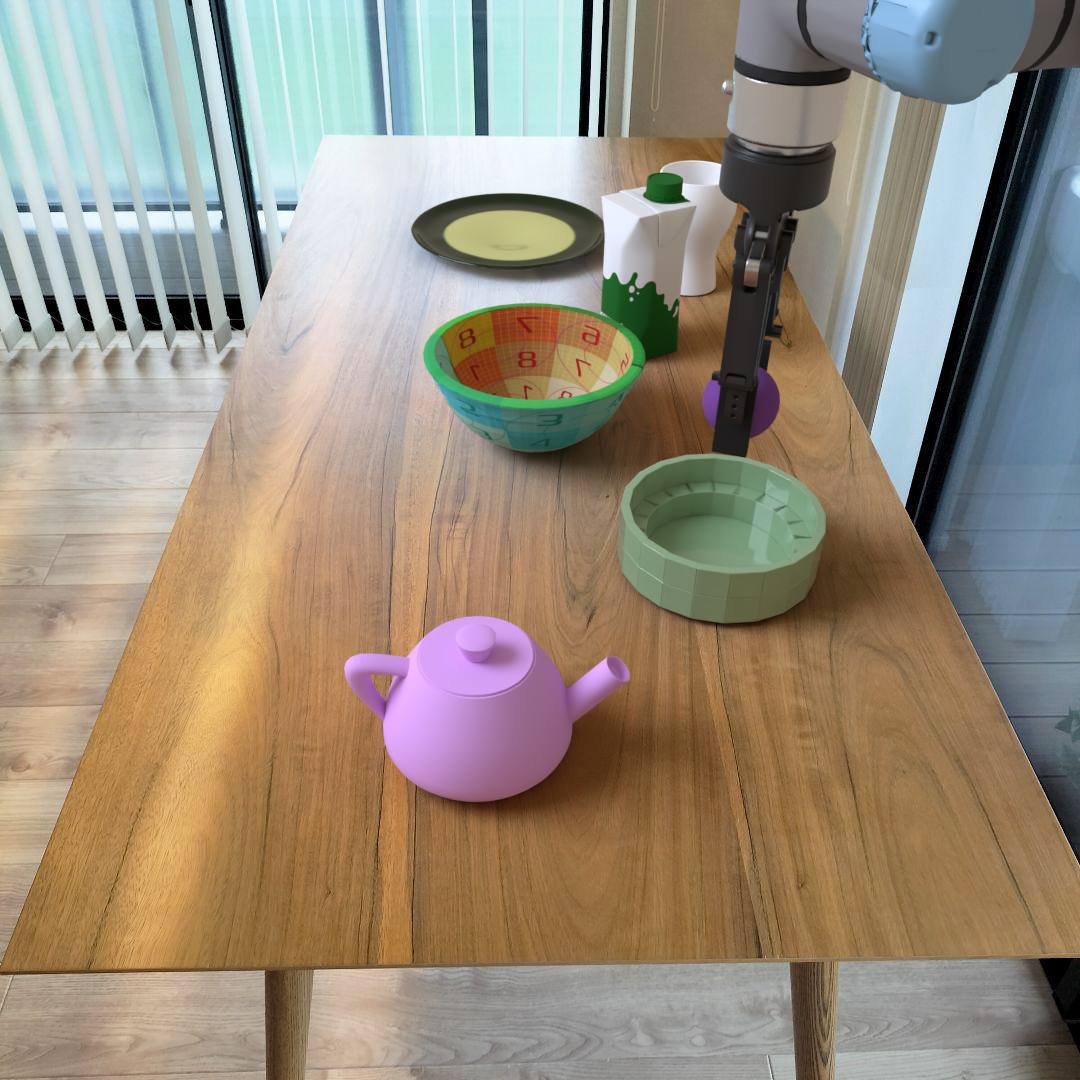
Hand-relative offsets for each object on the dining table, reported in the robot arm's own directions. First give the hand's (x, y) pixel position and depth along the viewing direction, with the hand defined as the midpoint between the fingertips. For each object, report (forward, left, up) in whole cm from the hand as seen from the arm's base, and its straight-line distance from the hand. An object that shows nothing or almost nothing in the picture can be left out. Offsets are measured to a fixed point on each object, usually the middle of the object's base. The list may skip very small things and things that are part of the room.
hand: (736, 430), depth 87 cm
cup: (+43, -44, -15) cm, 64 cm away
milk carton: (+35, -26, -15) cm, 47 cm away
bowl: (+28, -3, -15) cm, 32 cm away
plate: (+69, -35, -15) cm, 79 cm away
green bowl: (+1, -1, -15) cm, 15 cm away
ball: (0, 0, 0) cm, 0 cm away
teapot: (-2, +28, -15) cm, 32 cm away
